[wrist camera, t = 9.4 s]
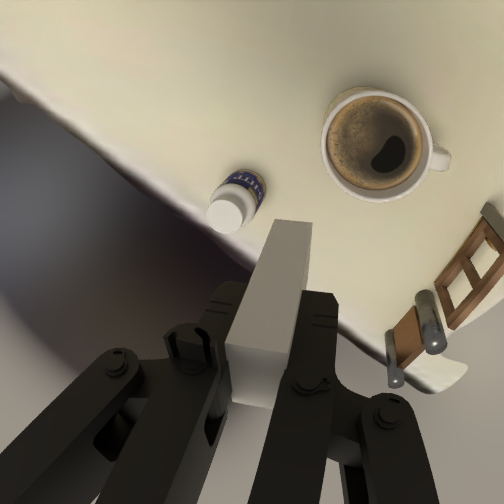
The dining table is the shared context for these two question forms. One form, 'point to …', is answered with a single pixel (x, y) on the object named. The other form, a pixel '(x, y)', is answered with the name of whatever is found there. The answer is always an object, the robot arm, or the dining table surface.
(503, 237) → the block
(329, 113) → the mug
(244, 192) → the pill bottle
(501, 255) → the gate
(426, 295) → the fence
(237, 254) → the dining table surface
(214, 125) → the dining table surface
